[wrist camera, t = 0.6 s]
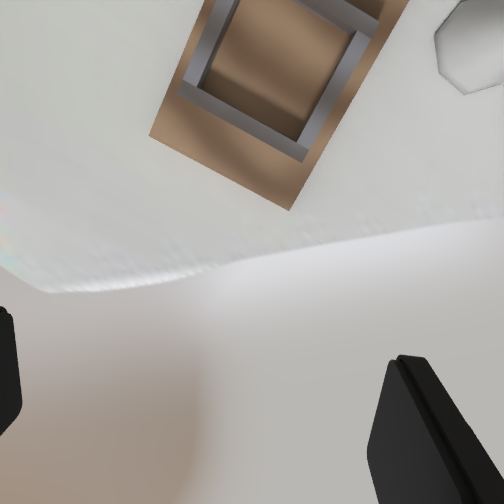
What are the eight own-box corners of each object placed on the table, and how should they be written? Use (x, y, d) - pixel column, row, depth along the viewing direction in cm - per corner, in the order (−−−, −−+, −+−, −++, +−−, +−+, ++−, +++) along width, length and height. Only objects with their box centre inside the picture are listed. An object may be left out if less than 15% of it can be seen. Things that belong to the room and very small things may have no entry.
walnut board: (256, -111, 29) (254, -142, 25) (413, -13, 30) (430, -31, 27) (153, 135, 35) (140, 136, 31) (288, 207, 36) (289, 215, 33)
